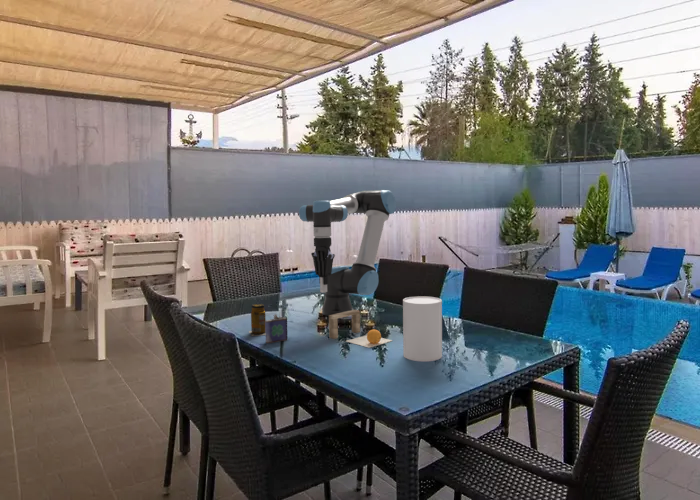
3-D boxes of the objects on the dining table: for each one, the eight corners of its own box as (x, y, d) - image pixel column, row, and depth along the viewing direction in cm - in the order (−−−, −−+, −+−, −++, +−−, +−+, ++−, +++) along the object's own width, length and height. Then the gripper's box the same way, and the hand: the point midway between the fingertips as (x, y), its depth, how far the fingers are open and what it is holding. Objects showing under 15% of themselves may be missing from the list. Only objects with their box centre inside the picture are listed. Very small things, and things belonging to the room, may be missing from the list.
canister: (415, 363, 176) (415, 305, 174) (396, 353, 189) (396, 298, 187) (449, 358, 182) (449, 301, 180) (428, 348, 194) (428, 295, 192)
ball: (377, 344, 204) (371, 330, 205) (386, 339, 200) (380, 326, 202) (367, 347, 200) (362, 333, 202) (376, 342, 196) (370, 329, 198)
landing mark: (369, 335, 214) (368, 334, 214) (392, 341, 204) (392, 340, 204) (345, 341, 205) (345, 340, 205) (368, 347, 196) (368, 347, 196)
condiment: (265, 330, 226) (264, 302, 225) (269, 334, 218) (268, 306, 217) (248, 331, 223) (247, 304, 222) (251, 336, 215) (250, 308, 214)
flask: (267, 343, 204) (266, 316, 203) (264, 342, 207) (263, 315, 206) (288, 340, 209) (288, 313, 208) (285, 338, 211) (285, 312, 210)
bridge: (329, 337, 211) (328, 315, 210) (355, 330, 221) (354, 309, 220) (334, 338, 209) (333, 316, 208) (360, 332, 219) (359, 310, 218)
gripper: (305, 236, 223) (307, 291, 225) (325, 238, 213) (326, 295, 216) (319, 235, 228) (320, 289, 230) (339, 237, 218) (340, 292, 221)
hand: (323, 291), depth 223 cm, fingers closed
